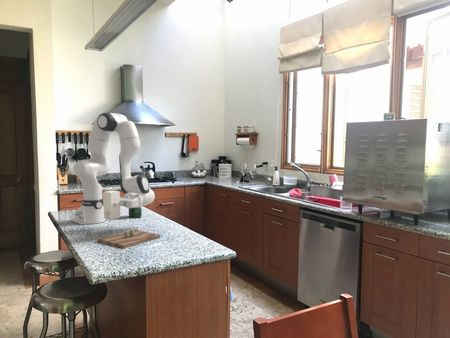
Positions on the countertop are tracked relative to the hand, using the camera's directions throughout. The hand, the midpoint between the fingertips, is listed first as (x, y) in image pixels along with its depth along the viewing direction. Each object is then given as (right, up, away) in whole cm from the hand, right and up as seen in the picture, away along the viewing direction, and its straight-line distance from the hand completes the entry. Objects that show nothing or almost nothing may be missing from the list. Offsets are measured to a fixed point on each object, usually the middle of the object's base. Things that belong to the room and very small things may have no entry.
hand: (110, 203), depth 194 cm
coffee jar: (+1, -14, +50) cm, 52 cm away
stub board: (+11, -18, -6) cm, 22 cm away
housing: (+1, -7, +1) cm, 8 cm away
